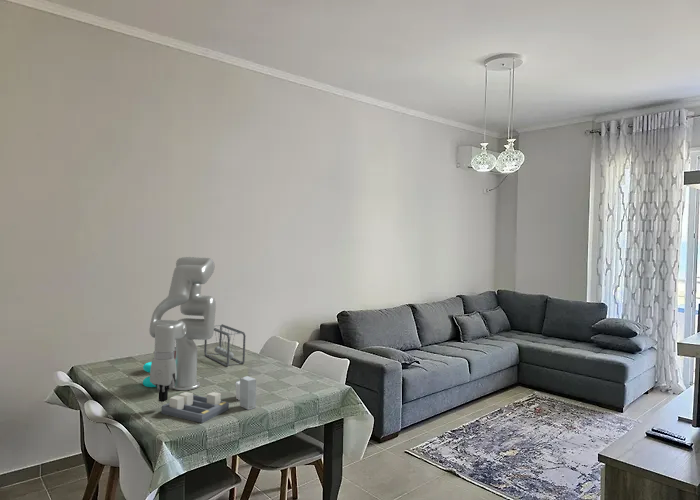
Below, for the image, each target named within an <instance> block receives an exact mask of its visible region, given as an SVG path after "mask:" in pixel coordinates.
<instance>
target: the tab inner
mask: <svg viewBox="0 0 700 500" xmlns="http://www.w3.org/2000/svg"><path fill="white" fill-rule="evenodd" d="M221 396H222V394H221V393H220V392H215V391H213V392H209V393H207V394H206V398H207V403H209V404H214V405H218V404H220V402H221V401H222V400H221Z"/></svg>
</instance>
